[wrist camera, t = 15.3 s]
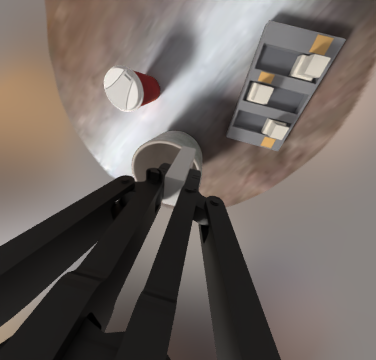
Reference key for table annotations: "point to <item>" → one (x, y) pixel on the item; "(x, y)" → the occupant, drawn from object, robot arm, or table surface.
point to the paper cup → (130, 88)
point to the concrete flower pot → (163, 153)
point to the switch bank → (279, 81)
